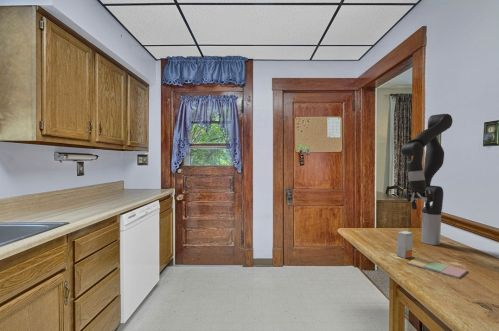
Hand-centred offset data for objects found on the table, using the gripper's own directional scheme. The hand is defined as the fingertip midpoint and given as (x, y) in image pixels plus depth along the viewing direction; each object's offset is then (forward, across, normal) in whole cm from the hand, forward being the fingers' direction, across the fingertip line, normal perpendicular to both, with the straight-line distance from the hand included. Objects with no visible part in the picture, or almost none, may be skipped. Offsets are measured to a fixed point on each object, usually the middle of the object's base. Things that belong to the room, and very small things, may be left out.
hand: (421, 209), depth 151 cm
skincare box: (+20, -5, +19) cm, 28 cm away
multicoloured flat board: (+22, -20, +16) cm, 34 cm away
